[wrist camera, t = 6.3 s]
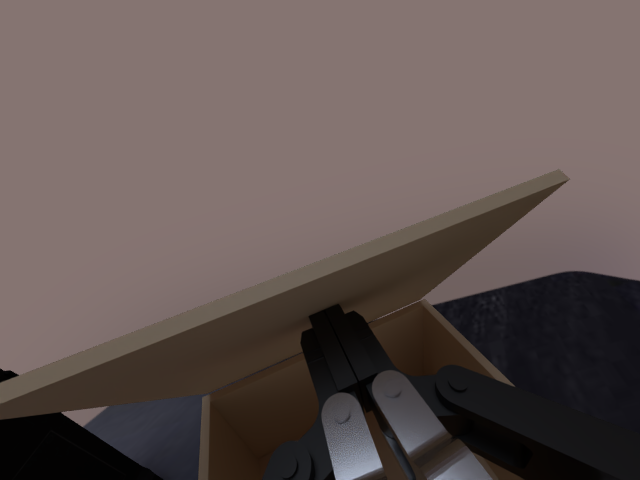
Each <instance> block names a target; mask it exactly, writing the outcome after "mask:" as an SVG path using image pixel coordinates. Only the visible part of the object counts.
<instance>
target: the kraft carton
mask: <svg viewBox="0 0 640 480" xmlns="http://www.w3.org/2000/svg"><path fill="white" fill-rule="evenodd" d="M368 325H369V327H370V328H371V330H372V332H373V333H374V335H375V336H376V338H377V339H378V341H379V342H380V344H381V346H382V347H383V349H384V350H385V352H386V353H387V355H388V357H389V358H390V360H391V361H392V363H393V364H394V366H395V367H396V368H397V369H398V370H400V371H401V372H403V373H405V374H407V375H411V376H426V375H436V374H437V372H438V370H439V369H440V368H442V367H443V366H446V365H458V366H461V367H464V368H466V369H469V370H472V371H474V372H477V373H480V374H482V375H485V376H488V377H490V378H493V379H496V380H498V381H501V382H503V383H506V384H509V385H511V386H514V385H513V384H512V383H511V382H510V381H509V380H508V379H507V378H506V377H505V376H504V375H503V374H502V373H501V372H499V371H498V370H497V369H496V368H495V367H494V366H493V365H492V364H491V363H490V362H489V361H488V360H487V359H486V358H485V357H484V356H483V355H482V354H481V353H480V352H479V351H478V350H477V349H476V348H475V347H474V346H473V345H472V344H471V343H470V342H469V341H468V340H467V339H466V338H464V337H463V336H462V335H461V334H460V333H459V332H458V331H457V330H456V329H455V328H454V327H453V326H452V325H451V324H450V323H449V322H448V321H447V320H446V319H445V318H444V317H443V316H442V315H441V314H440V313H439V312H438V311H437V310H436V309H435V308H434V307H433V306H432V305H431V304H429V303H428V302H427V301H426V300H425V299H423V300H421V301H419V302H417V303H414V304H412V305H410V306H408V307H405V308H403V309H401V310H399V311H396V312H394V313H392V314H390V315H387V316H385V317H383V318H381V319H378V320H376V321H374V322H372V323H369V324H368ZM514 387H515V386H514ZM318 411H319V402H318V398H317V394H316V391H315V388H314V385H313V382H312V379H311V376H310V372H309V369H308V366H307V363H306V360H305V357H304V353H302V354H300V355H297V356H295V357H293V358H291V359H288V360H286V361H284V362H282V363H279V364H277V365H275V366H273V367H270V368H268V369H266V370H263V371H261V372H259V373H257V374H254V375H252V376H250V377H248V378H245V379H243V380H241V381H239V382H236V383H234V384H232V385H230V386H227V387H225V388H223V389H221V390H218V391H216V392H214V393H212V394H209V395H207V396H205V397H203V398H202V418H201V437H200V457H199V476H198V480H262V478H263V475H264V473H265V470H266V468H267V465H268V462H269V460H270V458H271V456H272V454H273V452H274V451H275V450H276V449H277V447H279V446H280V445H281V444H283V443H284V442H287V441H298V440H299V439H300V438H301V437H302V436H303V435H304V434H305V433H306V432H307V431H308V430H309V429H310V428H311V427H312V426H313V424H314V423H315V421H316V419H317V416H318ZM364 412H365V418H366V422H367V425H368V428H369V431H370V434H371V436H372V439H373V442H374V445H375V447H376V450H377V453H378V456H379V458H380V461H381V464H382V466H383V469H384V472H385V474H386V477H387V479H388V480H407V479H406V478H405V476H404V474H403V472H402V470H401V469H400V467H399V465H398V463H397V461H396V459H395V458H394V456H393V454H392V452H391V450H390V449H389V447H388V445H387V443H386V441H385V440H384V438H383V436H382V434H381V432H380V429H379V425H378V422H377V420H376V418H375V416H374V414H373V411H370V412H368V413H366V411H365V409H364ZM471 452H472V451H471ZM472 454H473V455H474V456H475V457H476V459H477V460H478V461H479V463H480V464H481V465H482V466H483V468H484V469H485V470H486V472H487V473H488V474H489V475H490V477H491V478H492V479H493V480H524V479H523V478H521V477H519V476H517V475H515V474H513V473H511V472H509V471H507V470H506V469H504V468H502V467H500V466H498V465H496V464H494V463H492V462H490V461H489V460H487V459H485V458H483V457H481V456H479V455H477V454H475V453H473V452H472Z"/></svg>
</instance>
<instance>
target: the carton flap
mask: <svg viewBox="0 0 640 480" xmlns="http://www.w3.org/2000/svg"><path fill="white" fill-rule="evenodd" d="M568 180H569V178H568V177H567V176H566V175H565V174H564V173H562V172H561V171H560V170H559V169H558V170H556V171H553V172H551V173H548V174H545V175H543V176H540V177H537V178H535V179H532V180H530V181H527V182H524V183H522V184H519V185H517V186H514V187H511V188H509V189H506V190H504V191H501V192H498V193H495V194H493V195H490V196H488V197H485V198H483V199H480V200H477V201H475V202H473V203H470V204H467V205H464V206H462V207H459V208H456V209H454V210H451V211H449V212H446V213H443V214H441V215H438V216H435V217H433V218H430V219H428V220H425V221H422V222H420V223H417V224H414V225H412V226H409V227H407V228H404V229H401V230H399V231H396V232H393V233H391V234H388V235H386V236H383V237H380V238H378V239H375V240H373V241H370V242H367V243H365V244H362V245H359V246H357V247H354V248H352V249H349V250H347V251H344V252H341V253H338V254H336V255H333V256H331V257H328V258H326V259H323V260H320V261H318V262H315V263H312V264H310V265H307V266H304V267H302V268H299V269H297V270H294V271H291V272H289V273H286V274H284V275H281V276H278V277H276V278H273V279H271V280H268V281H265V282H263V283H260V284H257V285H255V286H252V287H250V288H247V289H244V290H242V291H239V292H236V293H234V294H231V295H229V296H226V297H224V298H221V299H218V300H215V301H213V302H210V303H208V304H205V305H203V306H200V307H197V308H195V309H192V310H189V311H187V312H184V313H182V314H179V315H176V316H174V317H171V318H169V319H166V320H163V321H161V322H158V323H156V324H153V325H150V326H147V327H145V328H142V329H140V330H137V331H134V332H132V333H129V334H126V335H124V336H121V337H119V338H116V339H113V340H111V341H109V342H106V343H103V344H100V345H98V346H95V347H93V348H90V349H87V350H85V351H82V352H79V353H77V354H74V355H72V356H69V357H67V358H64V359H61V360H59V361H56V362H53V363H51V364H48V365H46V366H43V367H40V368H38V369H35V370H32V371H30V372H27V373H25V374H22V375H19V376H17V377H14V378H11V379H9V380H6V381H3V382H1V383H0V420H2V419H10V418H18V417H26V416H34V415H41V414H49V413H57V412H65V411H73V410H81V409H88V408H96V407H104V406H112V405H120V404H128V403H136V402H144V401H152V400H160V399H168V398H175V397H183V396H191V395H199V394H207V393H210V392H212V391H214V390H217V389H219V388H221V387H223V386H226V385H228V384H230V383H232V382H235V381H237V380H239V379H242V378H244V377H246V376H248V375H251V374H253V373H255V372H257V371H260V370H262V369H264V368H266V367H269V366H271V365H273V364H275V363H278V362H280V361H282V360H284V359H287V358H289V357H291V356H293V355H296V354H298V353H300V352H303V350H302V347H301V344H300V341H301V334H302V332H303V331H305V330H308V329H310V328H312V325H311V322H310V319H309V316H310V315H313V314H315V313H317V312H320V311H322V310H323V311H324V310H325V309H327V308H329V307H332V306H334V305H337V304H339V305H340V306H341V308H342V310H343V311H344V313H345V314H346V313H348V312H351V311H353V310H354V311H355V312H357V313H358V314H360V315H361V316H363V317H364V319H365V321H366V322H367V323H368V322H370V321H373V320H375V319H377V318H379V317H382V316H384V315H386V314H388V313H391V312H393V311H395V310H397V309H400V308H402V307H404V306H406V305H409V304H411V303H413V302H415V301H418V300H420V299H421V298H422V297H424V296H425V295H426V294H427V293H429V292H430V291H431V290H432V289H434V288H435V287H436V286H437V285H438V284H440V283H441V282H442V281H443V280H445V279H446V278H447V277H449V276H450V275H451V274H452V273H454V272H455V271H456V270H457V269H459V268H460V267H461V266H462V265H463V264H465V263H466V262H467V261H468V260H470V259H471V258H472V257H473V256H475V255H476V254H477V253H479V252H480V251H481V250H482V249H483V248H485V247H486V246H487V245H488V244H490V243H491V242H492V241H493V240H495V239H496V238H497V237H498V236H500V235H501V234H502V233H503V232H505V231H506V230H507V229H508V228H510V227H511V226H512V225H513V224H515V223H516V222H517V221H518V220H519V219H521V218H522V217H523V216H525V215H526V214H527V213H528V212H529V211H531V210H532V209H533V208H535V207H536V206H537V205H538V204H539V203H541V202H542V201H543V200H544V199H546V198H547V197H548V196H549V195H551V194H552V193H553V192H554V191H556V190H557V189H558V188H559V187H560V186H562V185H563V184H564V183H566V182H567V181H568Z"/></svg>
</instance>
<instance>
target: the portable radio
mask: <svg viewBox="0 0 640 480" xmlns="http://www.w3.org/2000/svg"><path fill="white" fill-rule="evenodd" d="M17 376H19V375H18V374H15V373H14V372H12V371H3V370H2V369H0V383H1V382H3V381H6V380H9V379H11V378H14V377H17ZM0 480H163V479H162V478H160V477H159V476H157V475H156V474H154V473H153V472H152V471H151V470H150V469H148V468H145V467H142V466H141V465H139V464H138V463H136V462H135V461H133V460H131V459H130V458H128V457H127V456H125V455H124V454H122V453H121V452H119V451H118V450H116V449H115V448H113V447H112V446H110V445H109V444H107V443H106V442H104V441H103V440H101V439H100V438H98V437H97V436H95V435H94V434H92V433H91V432H89V431H88V430H86V429H85V428H83V427H82V426H80V425H78V424H77V423H75V422H74V421H72V420H71V419H69V418H68V417H66V416H64V415H63V414H62V413H61V412H57V413H49V414H41V415H34V416H26V417H18V418H10V419H2V420H0Z"/></svg>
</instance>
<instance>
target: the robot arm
mask: <svg viewBox="0 0 640 480" xmlns="http://www.w3.org/2000/svg"><path fill="white" fill-rule="evenodd" d="M309 319H310V322H311V325H312V328H310V329H308V330H305V331H303V332H302V334H301V341H300V344H301V347H302V350H303V353H304V357H305V360H306V363H307V366H308V369H309V372H310V376H311V379H312V382H313V385H314V388H315V391H316V394H317V398H318V402H319V411H318V416H317V419H316V421H315V423H314V424H313V426H312V427H311V428H310V429H309V430H308V431H307V432H306V433H305V434H304V435H303V436H302V437H301V438H300V439H299V440H298V441H287V442H284V443H283V444H281V445H280V446H279V447H277V449H276V450H275V451H274V452H273V454H272V456H271V458H270V460H269V462H268V465H267V468H266V470H265V473H264V475H263V478H262V480H388V479H387V477H386V474H385V472H384V469H383V466H382V464H381V461H380V458H379V456H378V453H377V450H376V447H375V445H374V442H373V439H372V436H371V434H370V431H369V428H368V425H367V422H366V418H365V412H364V409H365V411H366V413H368V412H370V411H373V414H374V416H375V418H376V420H377V422H378V425H379V429H380V432H381V434H382V436H383V438H384V440H385V441H386V443H387V445H388V447H389V449H390V450H391V452H392V454H393V456H394V458H395V459H396V461H397V463H398V465H399V467H400V469H401V470H402V472H403V474H404V476H405V478H406V479H407V480H493V479H492V478H491V477H490V475H489V474H488V473H487V472H486V470H485V469H484V468H483V466H482V465H481V464H480V463H479V461H478V460H477V459H476V457H475V456H474V455H473V454H472V452H473V453H475V454H477V455H479V456H481V457H483V458H485V459H487V460H489V461H490V462H492V463H494V464H496V465H498V466H500V467H502V468H504V469H506V470H507V471H509V472H511V473H513V474H515V475H517V476H519V477H521V478H523V479H524V480H640V434H638V433H635V432H633V431H630V430H627V429H625V428H622V427H619V426H617V425H614V424H612V423H609V422H606V421H604V420H601V419H598V418H596V417H593V416H590V415H588V414H585V413H583V412H580V411H577V410H575V409H572V408H569V407H567V406H564V405H561V404H559V403H556V402H554V401H551V400H548V399H546V398H543V397H540V396H538V395H535V394H532V393H530V392H527V391H525V390H522V389H519V388H517V387H514V386H511V385H509V384H506V383H503V382H501V381H498V380H496V379H493V378H490V377H488V376H485V375H482V374H480V373H477V372H474V371H472V370H469V369H466V368H464V367H461V366H458V365H446V366H443V367H442V368H440V369H439V370H438V372H437V374H436V375H426V376H411V375H407V374H405V373H403V372H401V371H400V370H398V369H397V368H396V367H395V366H394V364H393V363H392V361H391V360H390V358H389V357H388V355H387V353H386V352H385V350H384V349H383V347H382V346H381V344H380V342H379V341H378V339H377V338H376V336H375V335H374V333H373V332H372V330H371V328H370V327H369V325H368V324H367V322H366V321H365V319H364V317H363V316H361V315H360V314H358V313H357V312H355V311H354V310H353V311H351V312H348V313H346V314H345V313H344V311H343V310H342V308H341V306H340V305H339V304H337V305H334V306H332V307H329V308H327V309H325V310H324V311H323V310H322V311H320V312H317V313H315V314H313V315H310V316H309ZM471 451H472V452H471Z"/></svg>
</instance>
